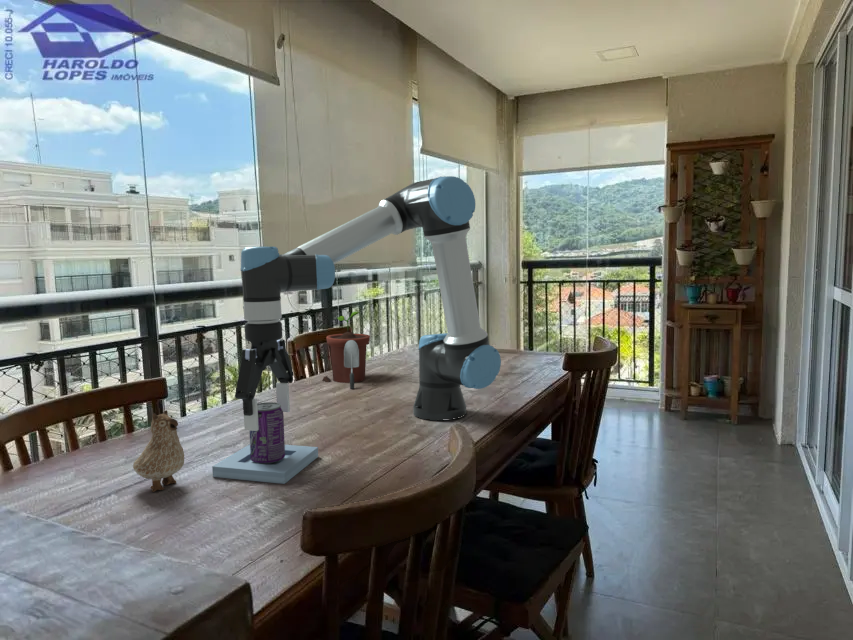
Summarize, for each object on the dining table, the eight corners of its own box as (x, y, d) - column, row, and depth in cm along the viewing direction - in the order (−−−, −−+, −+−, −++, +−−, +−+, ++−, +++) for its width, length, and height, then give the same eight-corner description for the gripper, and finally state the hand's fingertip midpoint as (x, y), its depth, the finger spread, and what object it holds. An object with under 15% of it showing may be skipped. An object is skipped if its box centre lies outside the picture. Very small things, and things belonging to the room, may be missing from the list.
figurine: (167, 498, 107) (163, 419, 106) (121, 494, 109) (116, 417, 107) (195, 479, 116) (192, 407, 115) (152, 476, 118) (148, 404, 116)
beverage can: (254, 455, 127) (252, 402, 125) (287, 454, 127) (285, 401, 126) (247, 467, 120) (244, 410, 118) (282, 465, 120) (280, 409, 119)
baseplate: (318, 456, 129) (318, 447, 129) (284, 483, 114) (284, 473, 114) (253, 451, 133) (253, 441, 133) (212, 476, 118) (212, 466, 117)
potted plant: (382, 377, 215) (381, 310, 212) (353, 389, 195) (351, 316, 192) (340, 373, 221) (339, 308, 219) (308, 385, 202) (306, 314, 199)
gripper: (275, 314, 133) (280, 404, 136) (211, 329, 109) (218, 437, 112) (305, 314, 131) (310, 405, 134) (247, 329, 107) (253, 440, 110)
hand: (268, 420), depth 123 cm, fingers open, 13 cm apart
